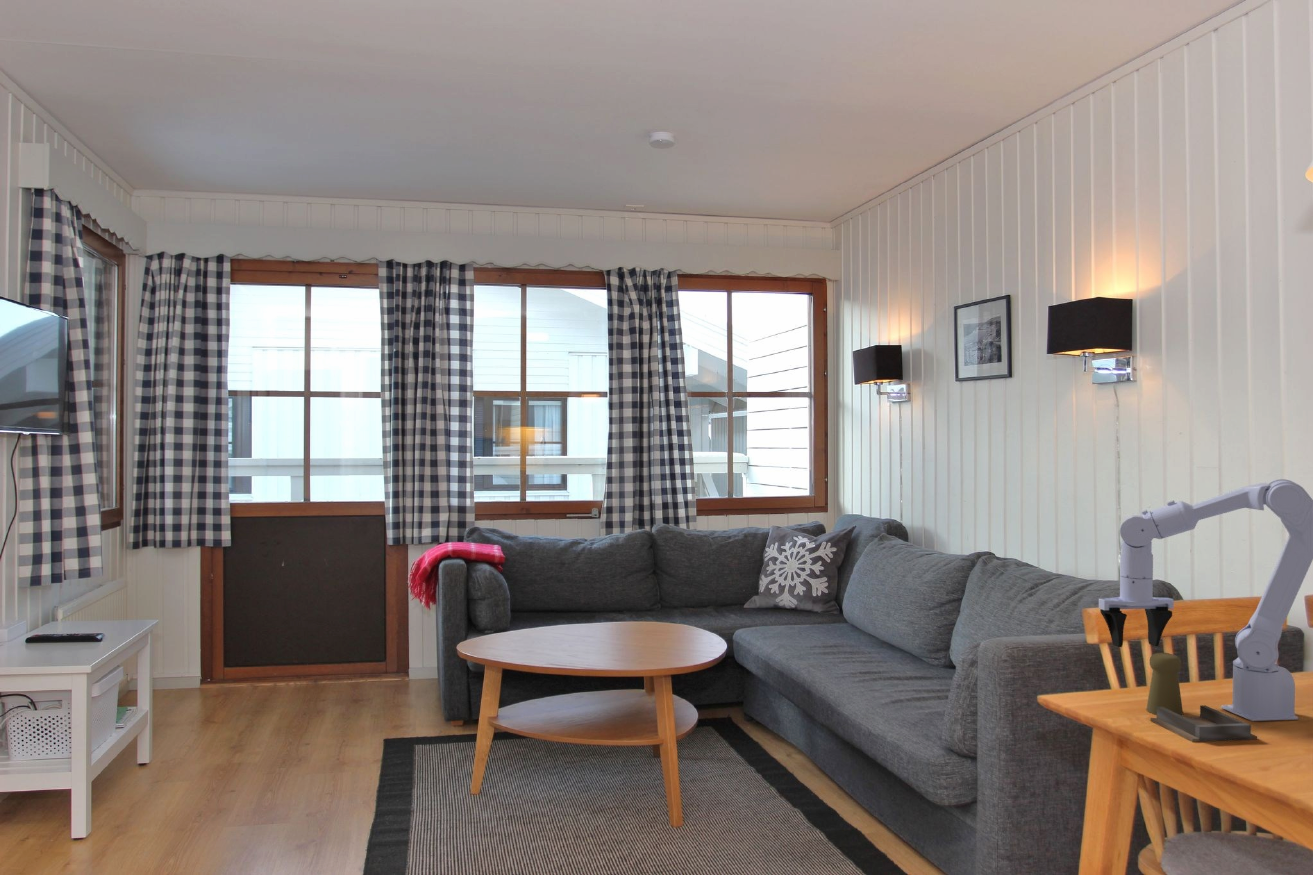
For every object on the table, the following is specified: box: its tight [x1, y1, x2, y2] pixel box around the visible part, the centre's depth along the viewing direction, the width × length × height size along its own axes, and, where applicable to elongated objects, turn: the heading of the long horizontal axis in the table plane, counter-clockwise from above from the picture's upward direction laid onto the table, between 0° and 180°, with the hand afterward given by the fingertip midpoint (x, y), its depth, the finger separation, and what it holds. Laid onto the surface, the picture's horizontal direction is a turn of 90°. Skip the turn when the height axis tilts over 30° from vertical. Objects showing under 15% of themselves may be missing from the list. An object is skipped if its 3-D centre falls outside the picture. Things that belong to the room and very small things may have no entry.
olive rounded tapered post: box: [1146, 652, 1184, 716], centre depth 171 cm, size 6×6×11 cm
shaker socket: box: [1149, 704, 1258, 743], centre depth 161 cm, size 12×11×2 cm
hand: (1135, 645), depth 180 cm, fingers open, 7 cm apart
